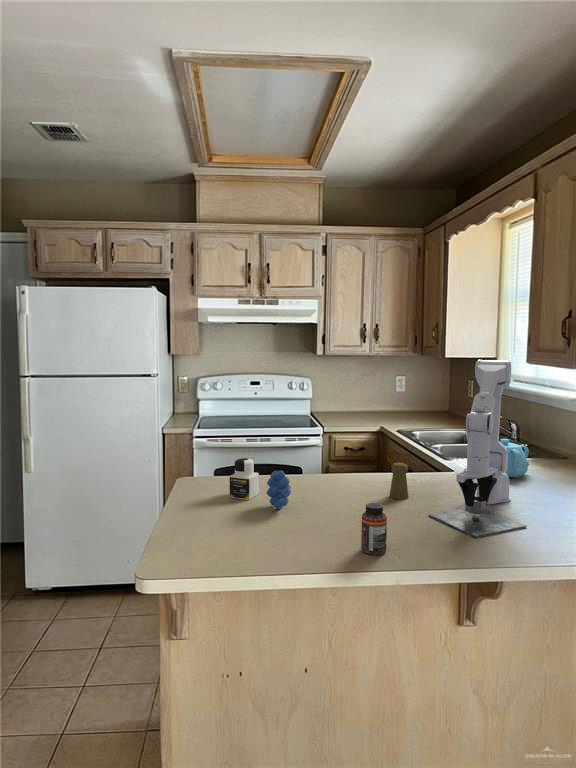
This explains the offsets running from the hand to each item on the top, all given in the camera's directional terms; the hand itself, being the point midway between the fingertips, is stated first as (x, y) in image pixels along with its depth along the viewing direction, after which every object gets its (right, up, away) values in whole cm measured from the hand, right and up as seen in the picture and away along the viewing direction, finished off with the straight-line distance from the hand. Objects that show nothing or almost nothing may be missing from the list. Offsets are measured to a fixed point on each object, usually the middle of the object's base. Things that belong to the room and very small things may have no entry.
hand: (476, 504), depth 141 cm
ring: (0, -2, +1) cm, 2 cm away
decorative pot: (+28, -1, +49) cm, 57 cm away
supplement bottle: (-32, -7, -19) cm, 38 cm away
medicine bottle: (-66, -3, +23) cm, 70 cm away
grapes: (-54, -4, +11) cm, 55 cm away
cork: (-17, -3, +23) cm, 28 cm away
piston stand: (0, -5, 0) cm, 5 cm away
